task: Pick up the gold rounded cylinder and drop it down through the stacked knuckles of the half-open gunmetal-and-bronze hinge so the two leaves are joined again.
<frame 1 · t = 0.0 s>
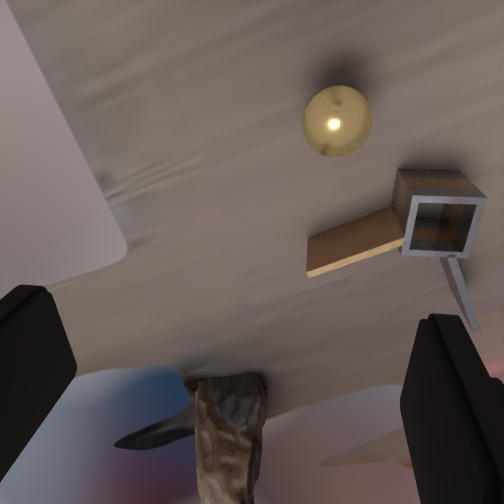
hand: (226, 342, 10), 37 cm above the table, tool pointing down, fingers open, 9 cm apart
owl: (235, 391, 66), on the table
gold rounded cylinder: (333, 107, 41), on the table
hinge: (422, 197, 44), on the table
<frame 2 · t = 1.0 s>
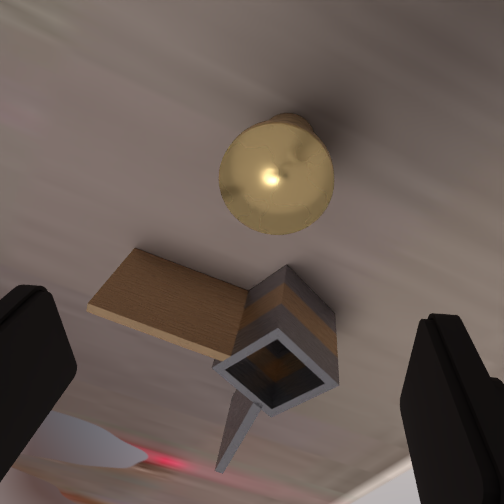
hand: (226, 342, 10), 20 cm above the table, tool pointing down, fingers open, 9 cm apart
gold rounded cylinder: (286, 142, 27), on the table
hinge: (283, 307, 34), on the table
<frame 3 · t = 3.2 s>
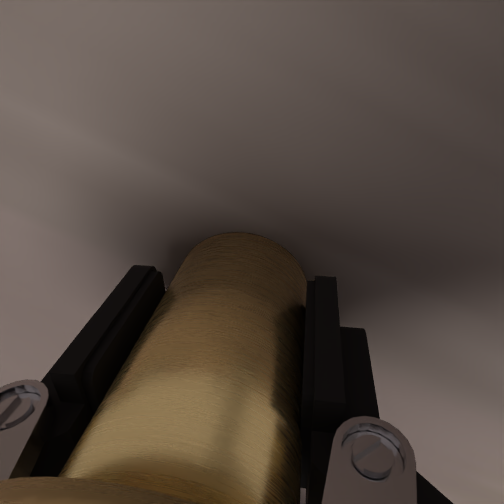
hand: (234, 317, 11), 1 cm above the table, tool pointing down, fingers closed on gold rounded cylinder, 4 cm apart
gold rounded cylinder: (242, 289, 12), on the table, touching gripper
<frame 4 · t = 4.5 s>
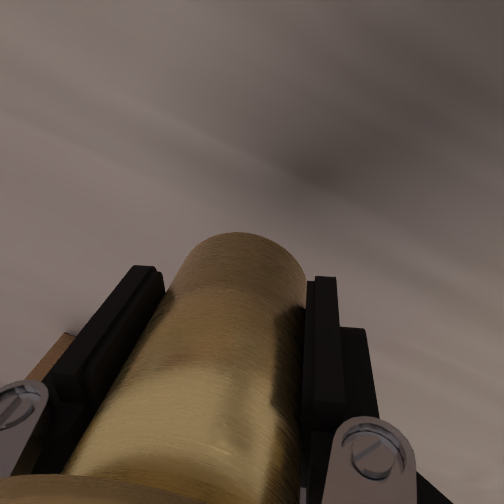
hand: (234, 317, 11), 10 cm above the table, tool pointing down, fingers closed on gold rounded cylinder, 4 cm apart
gold rounded cylinder: (242, 289, 12), point 9 cm above the table, touching gripper
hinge: (256, 404, 27), on the table
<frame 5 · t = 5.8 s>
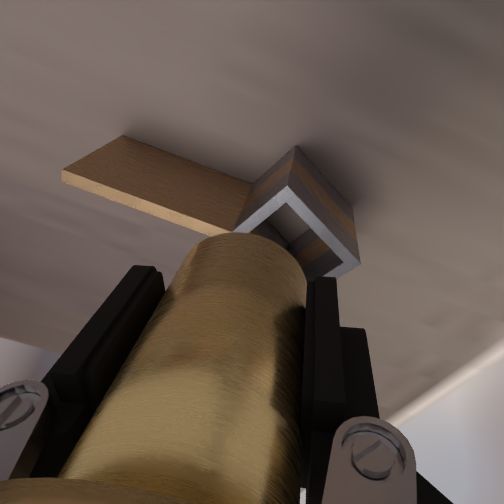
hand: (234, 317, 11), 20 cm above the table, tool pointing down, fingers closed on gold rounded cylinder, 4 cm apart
gold rounded cylinder: (242, 290, 12), point 19 cm above the table, touching gripper
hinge: (292, 204, 30), on the table
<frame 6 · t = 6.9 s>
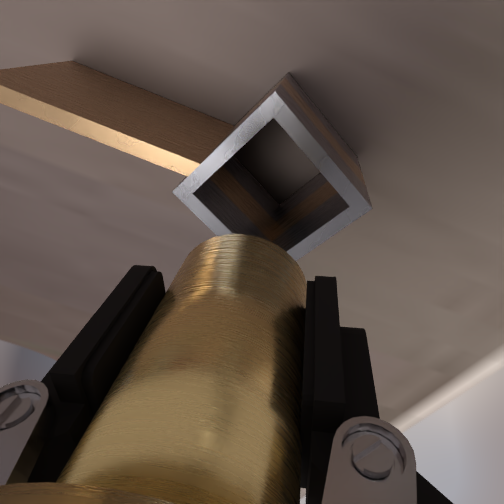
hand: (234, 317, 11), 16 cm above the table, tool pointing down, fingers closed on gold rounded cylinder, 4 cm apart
gold rounded cylinder: (242, 291, 12), point 15 cm above the table, touching gripper
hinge: (283, 152, 24), on the table
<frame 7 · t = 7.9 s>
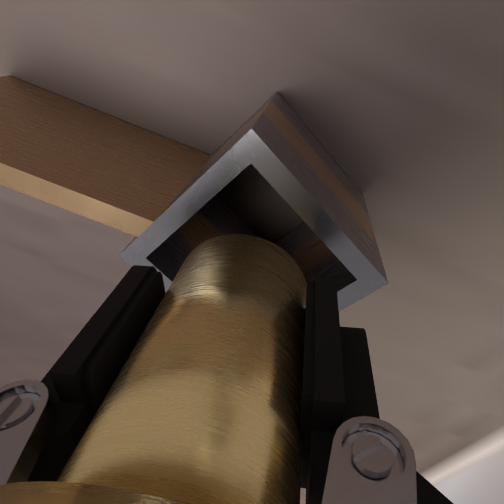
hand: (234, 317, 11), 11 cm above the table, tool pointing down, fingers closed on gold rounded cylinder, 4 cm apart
gold rounded cylinder: (242, 291, 12), point 9 cm above the table, touching gripper
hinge: (271, 187, 20), on the table
when the fingers open (11 cm above the table, at t = 8.9 s): gold rounded cylinder drops 8 cm, resting on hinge.
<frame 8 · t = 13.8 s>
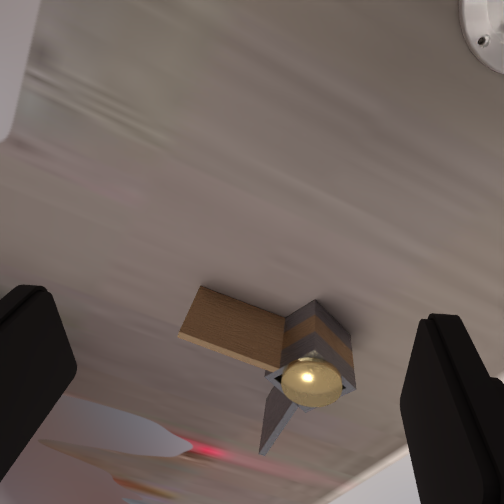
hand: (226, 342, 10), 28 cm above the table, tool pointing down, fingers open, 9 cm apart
gold rounded cylinder: (312, 329, 45), resting on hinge
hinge: (310, 330, 46), on the table
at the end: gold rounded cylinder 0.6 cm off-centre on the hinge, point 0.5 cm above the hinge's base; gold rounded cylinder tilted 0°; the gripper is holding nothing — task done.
